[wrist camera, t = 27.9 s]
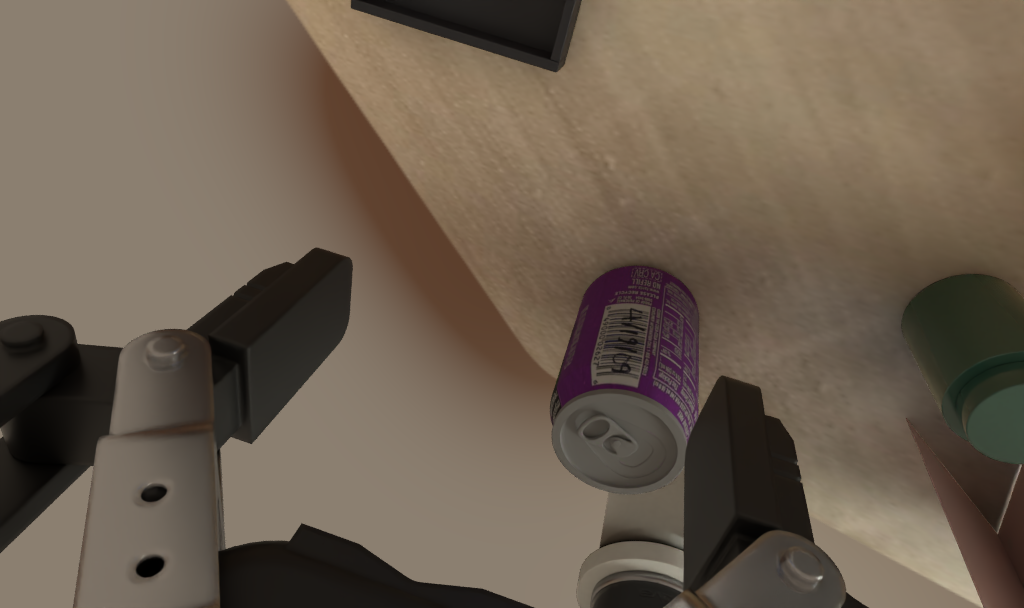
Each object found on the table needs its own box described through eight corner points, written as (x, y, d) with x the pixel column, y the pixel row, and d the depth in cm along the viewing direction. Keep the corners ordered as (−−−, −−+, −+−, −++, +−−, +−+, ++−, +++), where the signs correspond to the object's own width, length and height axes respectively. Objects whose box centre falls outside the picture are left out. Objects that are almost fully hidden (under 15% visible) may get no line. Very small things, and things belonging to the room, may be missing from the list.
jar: (980, 374, 34) (1051, 489, 27) (880, 342, 35) (925, 446, 28) (1050, 294, 31) (1151, 400, 24) (940, 259, 32) (1007, 354, 25)
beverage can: (559, 311, 39) (512, 440, 30) (633, 236, 36) (607, 356, 26) (644, 376, 40) (625, 522, 30) (724, 309, 36) (733, 453, 27)
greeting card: (1014, 536, 39) (1156, 815, 27) (883, 524, 42) (959, 777, 29) (1065, 396, 34) (1274, 668, 22) (911, 391, 36) (1021, 635, 24)
